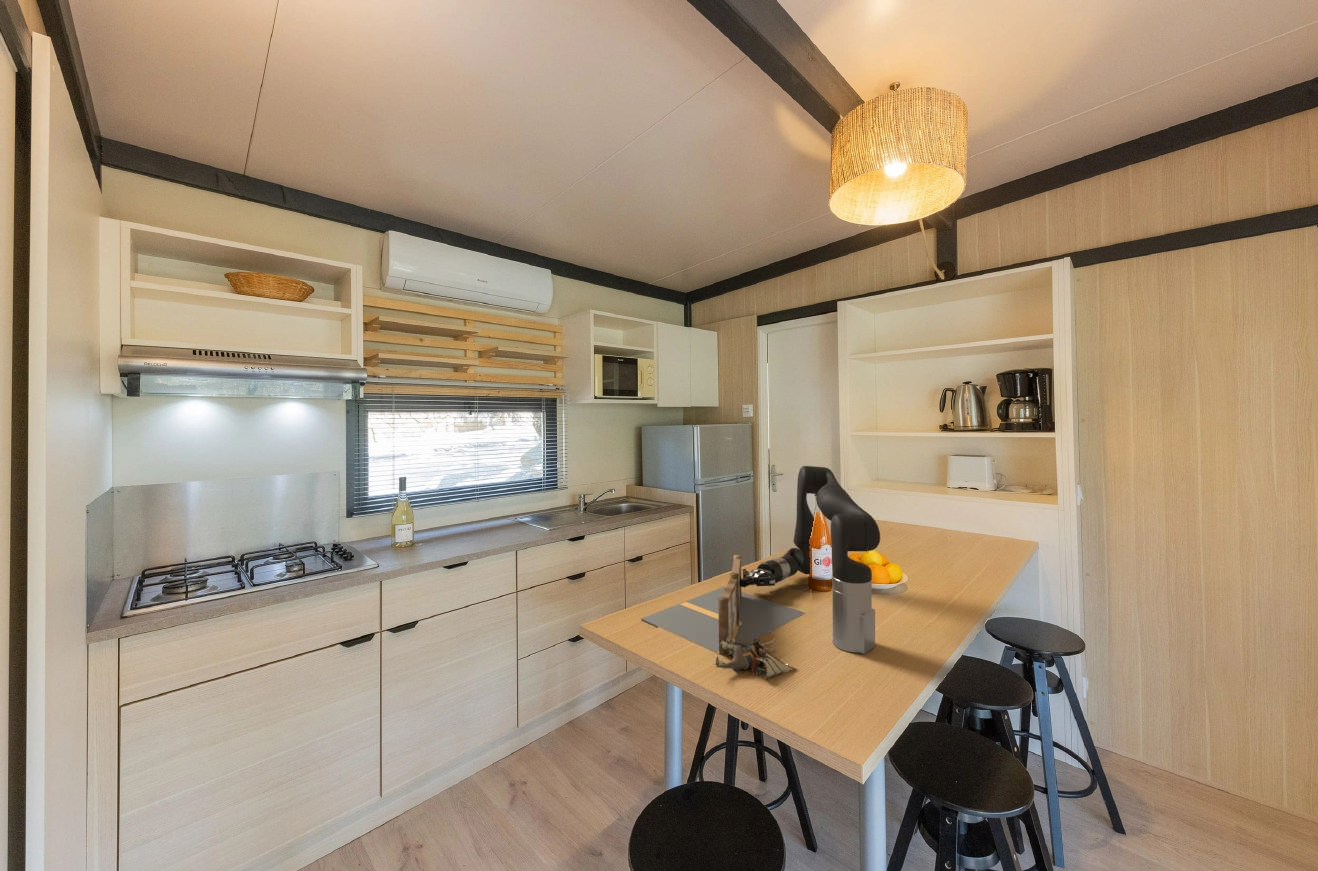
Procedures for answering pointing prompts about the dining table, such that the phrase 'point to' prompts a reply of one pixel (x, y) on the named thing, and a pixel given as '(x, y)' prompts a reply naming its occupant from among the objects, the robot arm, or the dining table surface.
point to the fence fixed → (728, 611)
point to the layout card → (702, 619)
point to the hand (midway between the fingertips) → (741, 583)
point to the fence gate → (737, 570)
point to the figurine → (753, 658)
